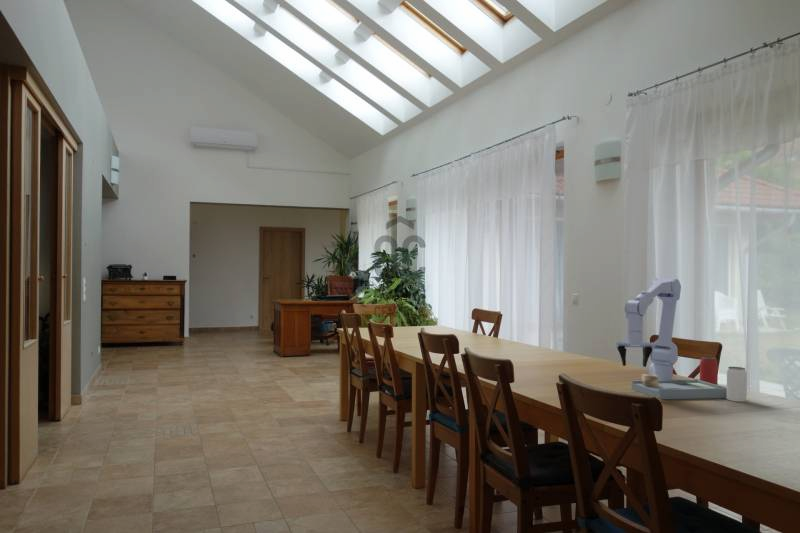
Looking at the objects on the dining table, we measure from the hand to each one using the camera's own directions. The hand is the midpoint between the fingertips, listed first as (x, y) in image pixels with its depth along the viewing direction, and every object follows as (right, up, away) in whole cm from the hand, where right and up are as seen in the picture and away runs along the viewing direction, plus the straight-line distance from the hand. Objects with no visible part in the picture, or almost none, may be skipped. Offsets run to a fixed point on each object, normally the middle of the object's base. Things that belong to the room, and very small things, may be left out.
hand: (634, 365), depth 241 cm
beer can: (+36, -11, +14) cm, 40 cm away
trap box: (+16, -10, -2) cm, 19 cm away
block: (+6, -8, 0) cm, 10 cm away
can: (+33, -11, -13) cm, 37 cm away
